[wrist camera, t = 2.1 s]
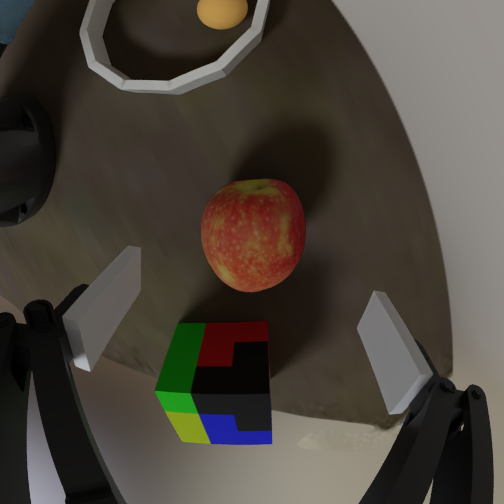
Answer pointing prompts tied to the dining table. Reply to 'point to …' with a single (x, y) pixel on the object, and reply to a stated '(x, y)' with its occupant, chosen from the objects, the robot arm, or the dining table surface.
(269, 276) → the apple
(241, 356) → the puzzle toy
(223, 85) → the dining table surface
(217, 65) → the ring
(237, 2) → the orange egg
